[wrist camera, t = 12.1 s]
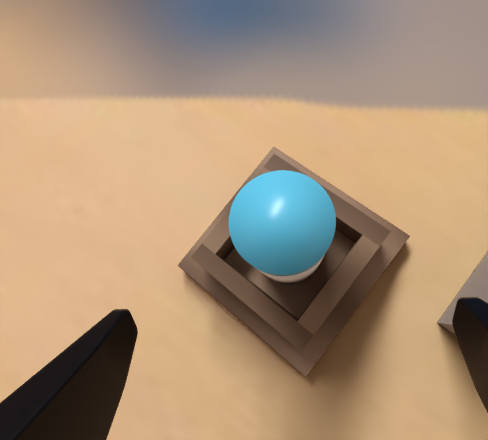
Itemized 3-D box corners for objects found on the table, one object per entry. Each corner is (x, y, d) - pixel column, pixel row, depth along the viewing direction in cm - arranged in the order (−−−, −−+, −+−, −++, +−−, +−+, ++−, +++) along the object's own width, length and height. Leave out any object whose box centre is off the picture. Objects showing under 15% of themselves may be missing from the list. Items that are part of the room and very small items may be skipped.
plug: (329, 277, 19) (348, 262, 11) (262, 290, 20) (238, 283, 12) (313, 213, 20) (321, 160, 12) (250, 226, 21) (221, 183, 13)
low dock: (305, 373, 19) (306, 388, 16) (183, 266, 22) (161, 261, 18) (404, 239, 20) (425, 226, 17) (274, 152, 23) (270, 127, 19)
